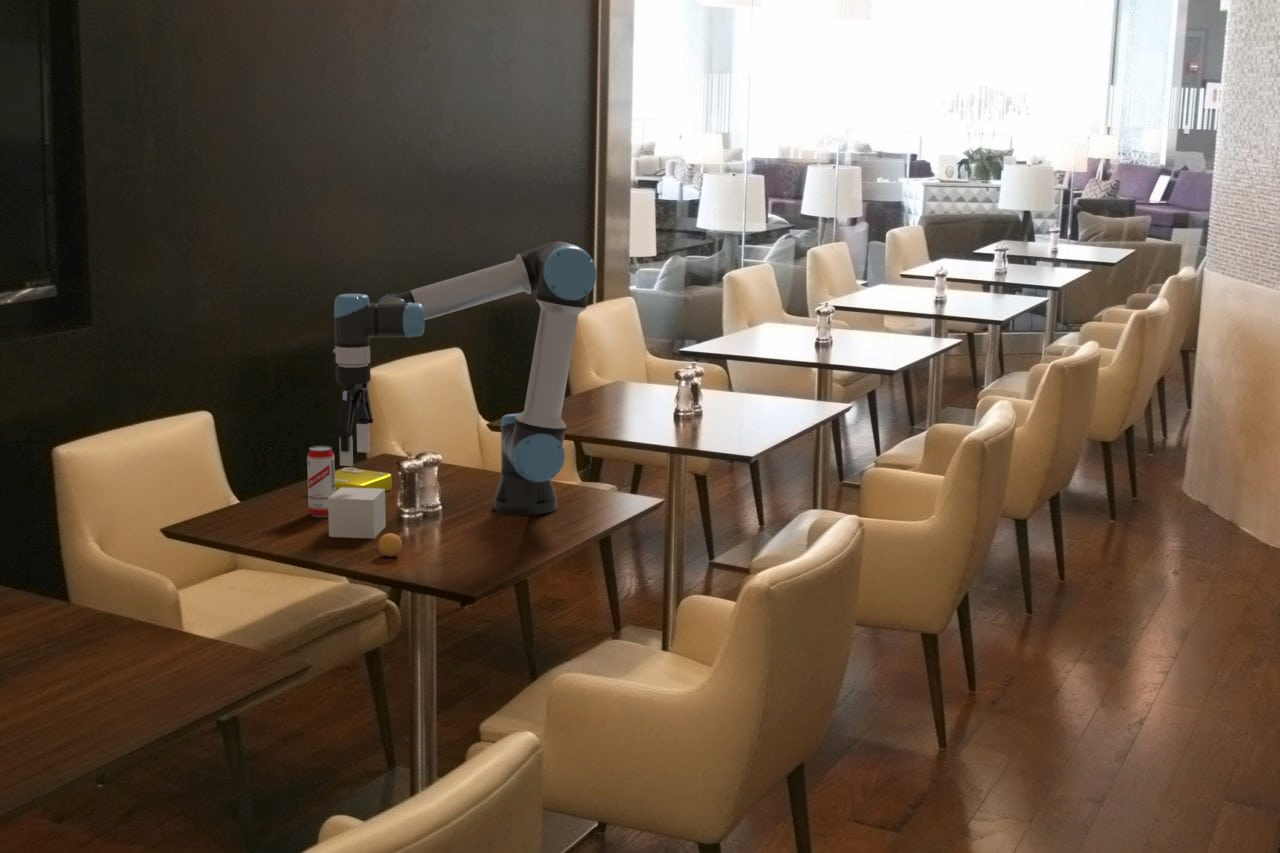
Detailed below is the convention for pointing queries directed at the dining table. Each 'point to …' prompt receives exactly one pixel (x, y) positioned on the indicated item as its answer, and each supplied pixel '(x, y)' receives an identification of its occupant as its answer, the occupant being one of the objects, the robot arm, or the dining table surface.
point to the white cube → (356, 512)
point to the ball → (390, 544)
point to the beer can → (320, 479)
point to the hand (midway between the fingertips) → (355, 458)
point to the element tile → (362, 479)
